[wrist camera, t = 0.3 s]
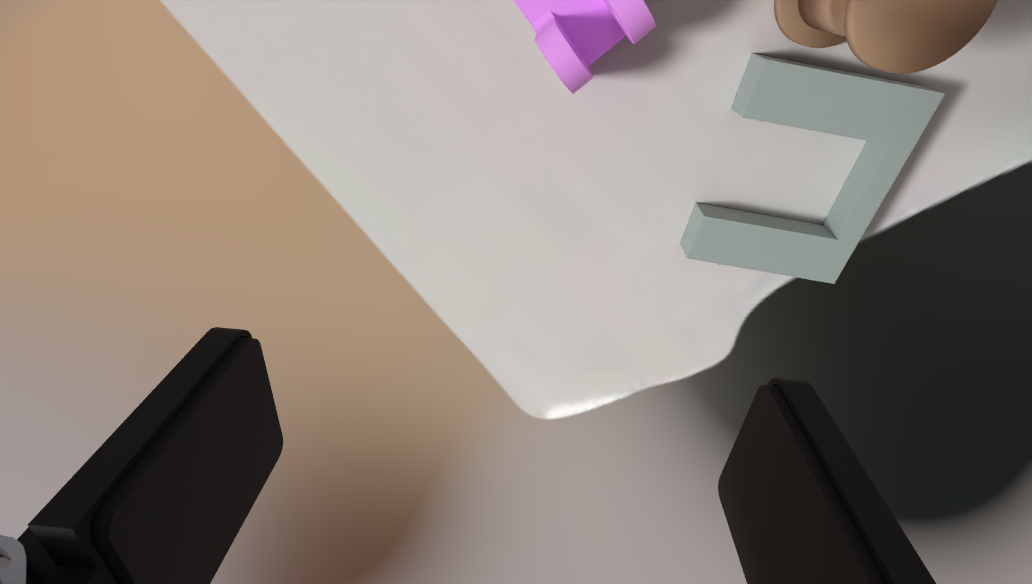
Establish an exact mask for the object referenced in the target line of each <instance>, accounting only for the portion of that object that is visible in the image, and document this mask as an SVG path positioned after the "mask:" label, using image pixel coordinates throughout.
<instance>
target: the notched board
mask: <svg viewBox="0 0 1032 584" xmlns="http://www.w3.org/2000/svg"><path fill="white" fill-rule="evenodd" d="M944 95H945V93H942V92H939V91H936V90H933V89H930V88H926V87H923V86H920V85H915V84H910V83H904V82H899V81H894V80H889V79H884V78H878V77H873V76H868V75H863V74H857V73H852V72H847V71H842V70H837V69H831V68H826V67H821V66H816V65H810V64H805V63H800V62H795V61H790V60H784V59H779V58H774V57H769V56H763V55H758V54H753V53H752V54H751V57H750V60H749V62H748V65H747V68H746V70H745V73H744V76H743V78H742V81H741V84H740V86H739V89H738V92H737V94H736V97H735V100H734V102H733V105H732V108H731V109H733V110H734V111H735V112H737V113H738V114H739V115H740V116H742V117H743V118H749V119H754V120H760V121H765V122H770V123H776V124H781V125H787V126H792V127H797V128H803V129H808V130H813V131H819V132H824V133H830V134H835V135H840V136H846V137H851V138H856V139H862V140H867V143H866V144H865V146H864V148H863V150H862V152H861V154H860V156H859V158H858V159H857V161H856V163H855V165H854V167H853V169H852V171H851V173H850V174H849V176H848V178H847V180H846V182H845V184H844V186H843V188H842V190H841V191H840V193H839V195H838V197H837V199H836V201H835V203H834V205H833V206H832V208H831V210H830V212H829V214H828V216H827V218H826V220H825V221H824V223H823V225H819V224H813V223H808V222H802V221H797V220H791V219H785V218H780V217H774V216H768V215H763V214H757V213H752V212H746V211H740V210H735V209H729V208H723V207H718V206H712V205H707V204H701V203H695V206H694V208H693V211H692V214H691V216H690V219H689V222H688V224H687V227H686V230H685V232H684V235H683V238H682V240H681V243H680V244H681V246H682V248H683V250H684V252H685V254H686V256H687V258H688V259H694V260H700V261H706V262H711V263H717V264H723V265H729V266H735V267H740V268H746V269H752V270H758V271H763V272H769V273H775V274H781V275H787V276H792V277H798V278H804V279H810V280H816V281H821V282H827V283H833V284H834V283H835V281H836V280H837V278H838V276H839V275H840V273H841V271H842V269H843V268H844V266H845V264H846V263H847V261H848V259H849V257H850V255H851V254H852V252H853V250H854V249H855V247H856V245H857V244H858V242H859V240H860V239H861V237H862V235H863V234H864V232H865V230H866V228H867V227H868V225H869V223H870V222H871V220H872V218H873V216H874V215H875V213H876V211H877V210H878V208H879V206H880V204H881V203H882V201H883V199H884V198H885V196H886V194H887V192H888V191H889V189H890V187H891V186H892V184H893V182H894V180H895V179H896V177H897V175H898V174H899V172H900V170H901V169H902V167H903V165H904V163H905V162H906V160H907V158H908V157H909V155H910V153H911V151H912V150H913V148H914V146H915V145H916V143H917V141H918V139H919V138H920V136H921V134H922V133H923V131H924V129H925V127H926V126H927V124H928V122H929V121H930V119H931V117H932V115H933V114H934V112H935V110H936V109H937V107H938V105H939V104H940V102H941V100H942V98H943V97H944Z"/></svg>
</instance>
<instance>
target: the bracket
mask: <svg viewBox="0 0 1032 584" xmlns="http://www.w3.org/2000/svg"><path fill="white" fill-rule="evenodd" d="M514 1H515V3H516V4H517V6H518V7H519V8H520V10H521V11H522V13H523V14H524V15H525V17H526V18H527V20H528V21H529V22H530V24H531V25H532V27H533V28H534V30H535V31H536V36H535V41H536V43H537V45H538V47H539V49H540V50H541V52H542V53H543V55H544V57H545V58H546V60H547V61H548V63H549V64H550V66H551V67H552V68H553V70H554V71H555V73H556V74H557V75H558V77H559V78H560V79H561V81H562V82H563V83H564V84H565V86H566V87H567V88H568V89H569V90H570V91H571V92H572V93H573V94H574V93H575V92H576V91H577V90H579V89H580V88H581V87H582V86H584V85H585V84H586V83H587V82H588V81H590V80H591V79H592V78H593V76H592V73H591V71H590V68H589V66H590V65H591V64H593V63H594V62H595V61H596V60H597V59H599V58H600V57H601V56H602V55H604V54H605V53H606V52H607V51H608V50H610V49H611V48H612V47H613V46H615V45H616V44H617V43H618V42H619V41H621V40H622V39H623V38H624V37H625V36H626V37H627V38H628V39H629V40H630V41H631V42H632V43H633V44H635V43H637V42H638V41H639V40H640V39H642V38H643V37H644V36H645V35H647V34H648V33H649V32H650V31H652V30H653V29H654V28H655V27H656V23H655V21H654V19H653V16H652V15H651V13H650V11H649V9H648V7H647V6H646V4H645V2H644V0H514Z"/></svg>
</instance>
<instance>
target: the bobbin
mask: <svg viewBox="0 0 1032 584" xmlns="http://www.w3.org/2000/svg"><path fill="white" fill-rule="evenodd" d="M997 1H998V0H775V1H774V12H775V17H776V21H777V24H778V26H779V28H780V30H781V31H782V32H783V34H784V35H785V36H786V37H787V38H789V39H790V40H792V41H793V42H795V43H798V44H801V45H804V46H807V47H812V48H825V47H830V46H834V45H837V44H839V43H842V42H844V41H846V40H847V43H848V45H849V47H850V49H851V51H852V52H853V54H854V55H855V56H856V57H857V58H858V59H859V60H860V61H862V62H863V63H865V64H866V65H869V66H871V67H873V68H876V69H880V70H883V71H886V72H890V73H898V74H901V73H913V72H918V71H922V70H925V69H928V68H930V67H933V66H935V65H937V64H939V63H941V62H943V61H945V60H946V59H948V58H950V57H951V56H953V55H954V54H955V53H957V52H958V51H959V50H961V49H962V48H963V47H964V46H965V45H966V44H967V43H968V42H970V41H971V39H972V38H973V37H974V36H975V35H976V34H977V33H978V32H979V30H980V29H981V28H982V27H983V25H984V24H985V23H986V21H987V19H988V18H989V16H990V15H991V13H992V11H993V9H994V7H995V5H996V3H997Z"/></svg>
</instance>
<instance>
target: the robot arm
mask: <svg viewBox="0 0 1032 584" xmlns="http://www.w3.org/2000/svg"><path fill="white" fill-rule="evenodd" d="M282 446H283V436H282V432H281V427H280V423H279V419H278V416H277V411H276V407H275V403H274V398H273V394H272V390H271V386H270V382H269V378H268V374H267V369H266V365H265V361H264V357H263V353H262V349H261V345H260V342H259V341H258V340H257V339H253V338H252V336H251V334H250V333H249V332H248V331H247V330H240V329H229V328H218V327H215V328H212V329H210V330H209V331H208V332H207V333H206V334H205V335H204V336H203V337H202V338H201V339H200V340H199V341H198V342H197V344H196V345H195V346H194V347H193V348H192V349H191V350H190V351H189V352H188V353H187V354H186V356H184V358H183V359H182V360H181V361H180V362H179V363H178V364H177V365H176V366H175V367H174V368H173V369H172V370H171V371H170V373H169V374H168V375H167V376H166V377H165V378H164V379H163V380H162V381H161V382H160V383H159V384H158V385H157V387H156V388H155V389H154V390H153V391H152V392H151V393H150V394H149V395H148V396H147V397H146V398H145V399H144V400H143V402H142V403H141V404H140V405H139V406H138V407H137V408H136V409H135V410H134V411H133V412H132V413H131V415H130V416H129V417H128V418H127V419H126V420H125V421H124V422H123V423H122V424H121V425H120V426H119V427H118V428H117V430H116V431H115V432H114V433H113V434H112V435H111V436H110V437H109V438H108V439H107V440H106V441H105V442H104V443H103V445H102V446H101V447H100V448H99V449H98V450H97V451H96V452H95V453H94V454H93V455H92V457H90V458H89V460H88V461H87V462H86V463H85V464H84V465H83V466H82V467H81V468H80V469H79V470H78V471H77V473H76V474H75V475H74V476H73V477H72V478H71V479H70V480H69V481H68V482H67V483H66V484H65V485H64V486H63V487H62V489H61V490H60V491H59V492H58V493H57V494H56V495H55V496H54V497H53V498H52V499H51V500H50V502H49V503H48V504H47V505H46V506H45V507H44V508H43V509H42V510H41V511H40V512H39V513H38V514H37V515H36V517H35V518H34V519H33V520H32V521H31V522H30V523H29V524H28V526H29V527H28V528H27V529H26V531H25V532H24V533H23V534H22V535H21V536H20V537H19V538H18V539H17V540H16V539H14V538H13V537H8V536H2V535H0V584H210V583H211V581H212V579H213V577H214V575H215V574H216V572H217V570H218V568H219V566H220V565H221V563H222V561H223V559H224V557H225V555H226V554H227V552H228V550H229V548H230V546H231V544H232V543H233V541H234V539H235V537H236V535H237V533H238V532H239V530H240V528H241V526H242V524H243V522H244V521H245V519H246V517H247V515H248V513H249V512H250V509H251V508H252V506H253V504H254V502H255V501H256V499H257V497H258V495H259V493H260V491H261V490H262V488H263V486H264V484H265V482H266V480H267V479H268V477H269V475H270V473H271V471H272V470H273V468H274V466H275V464H276V462H277V460H278V459H279V456H280V454H281V451H282ZM718 491H719V497H720V500H721V504H722V507H723V510H724V513H725V516H726V519H727V522H728V525H729V528H730V532H731V535H732V538H733V541H734V544H735V547H736V550H737V553H738V556H739V559H740V563H741V566H742V568H743V572H744V575H745V578H746V581H747V584H936V583H935V581H934V579H933V578H932V577H931V575H930V573H929V571H928V570H927V568H926V567H925V565H924V564H923V562H922V561H921V559H920V557H919V556H918V554H917V553H916V551H915V549H914V548H913V546H912V544H911V543H910V541H909V540H908V538H907V537H906V535H905V533H904V532H903V530H902V529H901V527H900V526H899V524H898V522H897V521H896V520H895V518H894V516H893V514H892V513H891V511H890V509H889V508H888V506H887V505H886V503H885V501H884V500H883V498H882V497H881V495H880V494H879V492H878V490H877V489H876V487H875V486H874V484H873V482H872V481H871V479H870V478H869V476H868V474H867V473H866V471H865V470H864V468H863V466H862V465H861V463H860V462H859V460H858V459H857V457H856V455H855V454H854V452H853V451H852V449H851V447H850V446H849V445H848V443H847V441H846V440H845V438H844V436H843V435H842V433H841V432H840V430H839V428H838V427H837V425H836V423H835V422H834V420H833V419H832V417H831V416H830V414H829V412H828V411H827V409H826V408H825V406H824V404H823V403H822V401H821V400H820V398H819V396H818V395H817V393H816V392H815V390H814V388H813V387H812V386H811V385H810V383H808V382H806V381H802V380H790V379H779V378H774V379H772V380H770V381H769V383H768V384H767V385H762V386H760V387H759V389H758V390H757V393H756V395H755V398H754V400H753V402H752V404H751V406H750V409H749V411H748V413H747V416H746V418H745V420H744V423H743V425H742V427H741V430H740V432H739V434H738V436H737V439H736V441H735V443H734V446H733V448H732V450H731V453H730V455H729V457H728V459H727V462H726V464H725V466H724V469H723V471H722V473H721V476H720V479H719V484H718Z"/></svg>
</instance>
